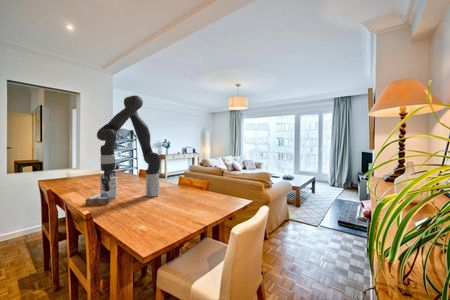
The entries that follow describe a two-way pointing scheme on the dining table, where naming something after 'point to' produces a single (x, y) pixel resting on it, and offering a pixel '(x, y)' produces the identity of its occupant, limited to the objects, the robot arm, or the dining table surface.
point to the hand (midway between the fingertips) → (109, 189)
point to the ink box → (112, 188)
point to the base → (99, 200)
